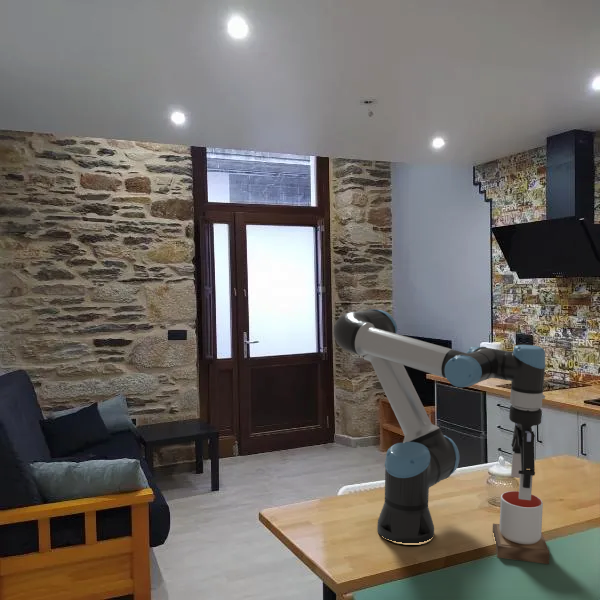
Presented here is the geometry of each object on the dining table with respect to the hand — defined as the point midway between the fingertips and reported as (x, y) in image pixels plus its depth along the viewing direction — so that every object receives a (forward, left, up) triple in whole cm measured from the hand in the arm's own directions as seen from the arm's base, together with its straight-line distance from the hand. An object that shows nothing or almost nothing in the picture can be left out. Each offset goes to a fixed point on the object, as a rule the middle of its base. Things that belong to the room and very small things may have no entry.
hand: (520, 487), depth 143 cm
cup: (0, 0, -13) cm, 13 cm away
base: (0, 0, -16) cm, 16 cm away
